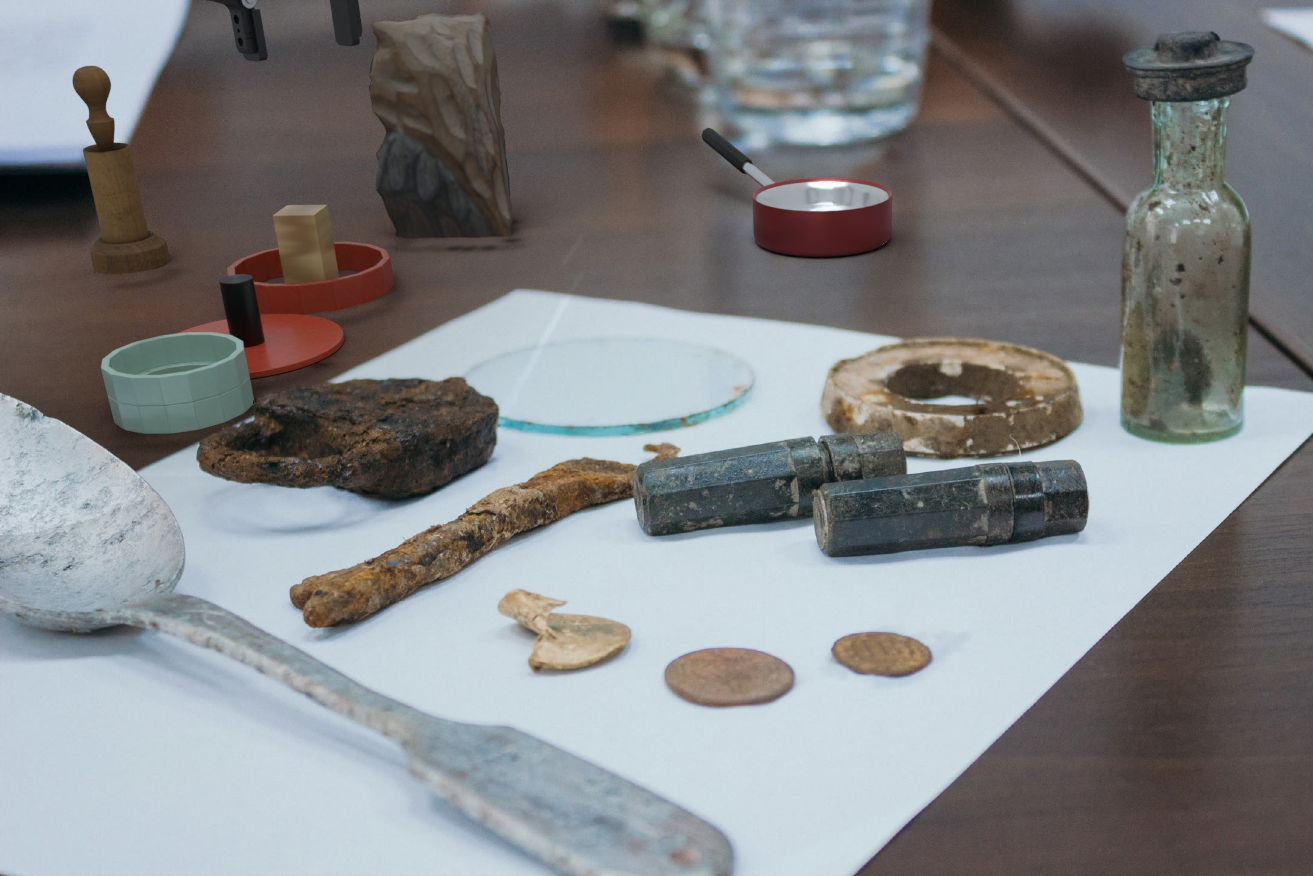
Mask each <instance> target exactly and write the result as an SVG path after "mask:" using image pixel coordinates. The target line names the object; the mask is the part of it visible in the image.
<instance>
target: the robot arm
mask: <svg viewBox="0 0 1313 876" xmlns="http://www.w3.org/2000/svg"><path fill="white" fill-rule="evenodd" d="M206 1H207V2H208V1H209V2H214V3H217V4H221V5H224V6H225V8H227V9H228V11H229V14H230V15H229V16H230V20H231V26H232V32H233V37H234V42H235V47H236V49H237V51H238V53H239V54H242V56H243V58H244V59H245V60H246V61H249V62H250V61H251V62H263V61H267V60H268V58H269V55H268V48H267V42H266V37H265V31H264V25H263V19H262V14H261V13H262V12H261V9H260V8H255V6H256V5H257V2H258V0H206ZM329 5H330V12H331V19H332V23H333V24H332V26H333V31H334V32H333V33H334V39H335V42H336V43H337V45H338V46H341V47H342V46H343V47H355V46H359V45H360V44H361V43H360V42H361V39H360V38H362V34H363V23H362V17H361V10H360V2H359V0H329Z"/></svg>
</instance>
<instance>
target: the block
mask: <svg viewBox="0 0 1313 876" xmlns="http://www.w3.org/2000/svg"><path fill="white" fill-rule="evenodd" d="M272 221H273V226H274V231H275V237H276V242H277V248H279V254H280V260H281V265H282V271H283V281H284V282H283V283H284V284H299V283H307V282H315V281H324V280H331V279H336V278H340V273H339V270H338V267H337V261H336V254H335V248H334V242H335V241H334V237H333V231H332V224H331V217H330V210H329V206H328V204H287V205H286V206H284V207H282V208H281V209H280V210H279V211H277V212H275V213H274V214H273V215H272Z"/></svg>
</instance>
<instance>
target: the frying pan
mask: <svg viewBox="0 0 1313 876" xmlns="http://www.w3.org/2000/svg"><path fill="white" fill-rule="evenodd" d="M701 138H702V141H703V142H704V143H705V144H706V145H708V147H710V148H711V149H712V150H713V151H714V152H715V153H717V154H718V155H719V156H721V157H722V158H723V159H724V160H726V162H728V163H729V164H730V165H731V166H732V167H734V168H735V169H736V170H737V171H738V172H740V173H741V174H743V175H746V176H748V177H749V178H750V179H752V180H753V181H754V182H756V183H757V184H758V185H759V186H760V187H759V188H757V189H756V190H755V191H753V193H752V194H751V195H752V199H751V200H752V229H753V230H752V231H753V232H752V233H753V238H754V240H755V241H754V242H756V243H757V244H758V245H759V246H760V247H761V248H763V249H766V250H767V251H770V252H773V253H776V254H782V255H785V256H794V257H804V258H835V257H846V256H854V255H859V254H863V253H868V252H871V251H874V250H876V249H879V248H881V247H882V246H884V245H886V244H887V243H888V241H889V240H890V239H891V237H892V232H893V191H892V190H891V189H890V188H889V187H887V186H886V185H883V184H880V183H877V182H873V181H868V180H863V179H854V178H843V177H842V178H841V177H815V178H814V177H813V178H811V177H810V178H797V179H790V180H783V181H777V182H775V181H773V180H772V179H771V178H770V177H769V176H768V175H766V174H765V173H764V172H763V171H761V170H760V169H759V168H757V167H756V166H755V165H754V163H753V160H751V159H750V158H749V157H748V156H747V155H745V154H744V153H743V152H741V151H740V150H739V149H738V148H737V147H735V145H733V143H730V141H728V140H727V139H725V138H724V137H723V136H722V135H720V133H718V132H717V131H716V130H714V129H713V128H711V127H707V128H705V129H703V130H702V133H701ZM889 238H890V239H889ZM886 241H887V242H886ZM885 242H886V243H885ZM883 243H884V244H883ZM882 244H883V245H882Z"/></svg>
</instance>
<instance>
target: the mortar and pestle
mask: <svg viewBox="0 0 1313 876" xmlns="http://www.w3.org/2000/svg"><path fill="white" fill-rule="evenodd" d="M72 87H73V89H74V92H75V93H76V94H77V95H78V96H79V98H80V99H81V100H82V101H83V103H84V104H85V105H86V107H87V109H88V118H87V119H86V120H85V122H86V127H87V128H88V131H89V133H90V135H91V137H92V139H93V140H94V144H91V145H87V146H86V147H83V149H82V154H83V157H84V158H83V159H84V162H85V166H86V170H87V174H88V178H89V182H90V187H91V192H92V196H93V202H94V205H95V210H96V211H95V212H96V216H97V219H98V224H99V229H100V234H101V236H100V237H98V238H97V239H96V240H95V242H94V243H93V244H92V245H91V246H90V247H89V256H90V260H91V264H92V265H91V266H92V269H93V270H92V271H93V273H94V274H96V273H99V274H107V275H108V274H110V275H118V274H119V275H121V274H130V273H137V272H144V271H149V270H157V269H159V268H162V267H164V266H166V265H168V264H169V263H170V262H171V256H170V253H169V249H168V243H167V241H166V239H165V238H163V237H161V236H159V235H158V234H157V233H155V232H154V231H151V230H149V229H148V226H147V219H146V215H145V211H144V206H143V202H142V197H141V192H140V187H139V183H138V178H137V175H136V168H135V164H134V160H133V155H132V150H131V145H130V144H128V143H125V142H115V130H116V129H115V128H116V127H115V126H116V125H115V118H114V117H112V116H110V115H109V113H108V111H107V101H108V99H109V96H110V93H111V89H112V81H111V78H110V76H109V75H108V73H107V72H106V71H105V70H104V69H103V68H101V67H99V66H97V65H85V66H84V65H83V66H82V67H79V68H77V69H76V70H75V71H74V72H73V74H72Z"/></svg>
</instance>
